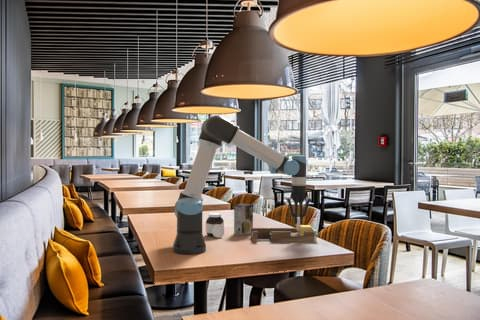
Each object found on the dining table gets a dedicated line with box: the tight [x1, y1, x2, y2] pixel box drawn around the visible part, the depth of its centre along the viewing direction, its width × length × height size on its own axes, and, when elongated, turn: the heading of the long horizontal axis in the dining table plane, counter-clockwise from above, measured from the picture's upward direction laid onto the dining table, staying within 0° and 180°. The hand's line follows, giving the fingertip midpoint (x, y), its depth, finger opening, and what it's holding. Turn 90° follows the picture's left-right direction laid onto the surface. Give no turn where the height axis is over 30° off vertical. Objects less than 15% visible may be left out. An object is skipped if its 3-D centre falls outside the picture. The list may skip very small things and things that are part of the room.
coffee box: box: [233, 203, 254, 236], centre depth 226 cm, size 9×6×16 cm
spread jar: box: [205, 212, 225, 239], centre depth 219 cm, size 12×11×12 cm
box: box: [250, 226, 318, 243], centre depth 212 cm, size 10×33×6 cm, turn 93°
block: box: [298, 224, 313, 235], centre depth 213 cm, size 5×6×4 cm
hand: (298, 229), depth 213 cm, fingers closed
